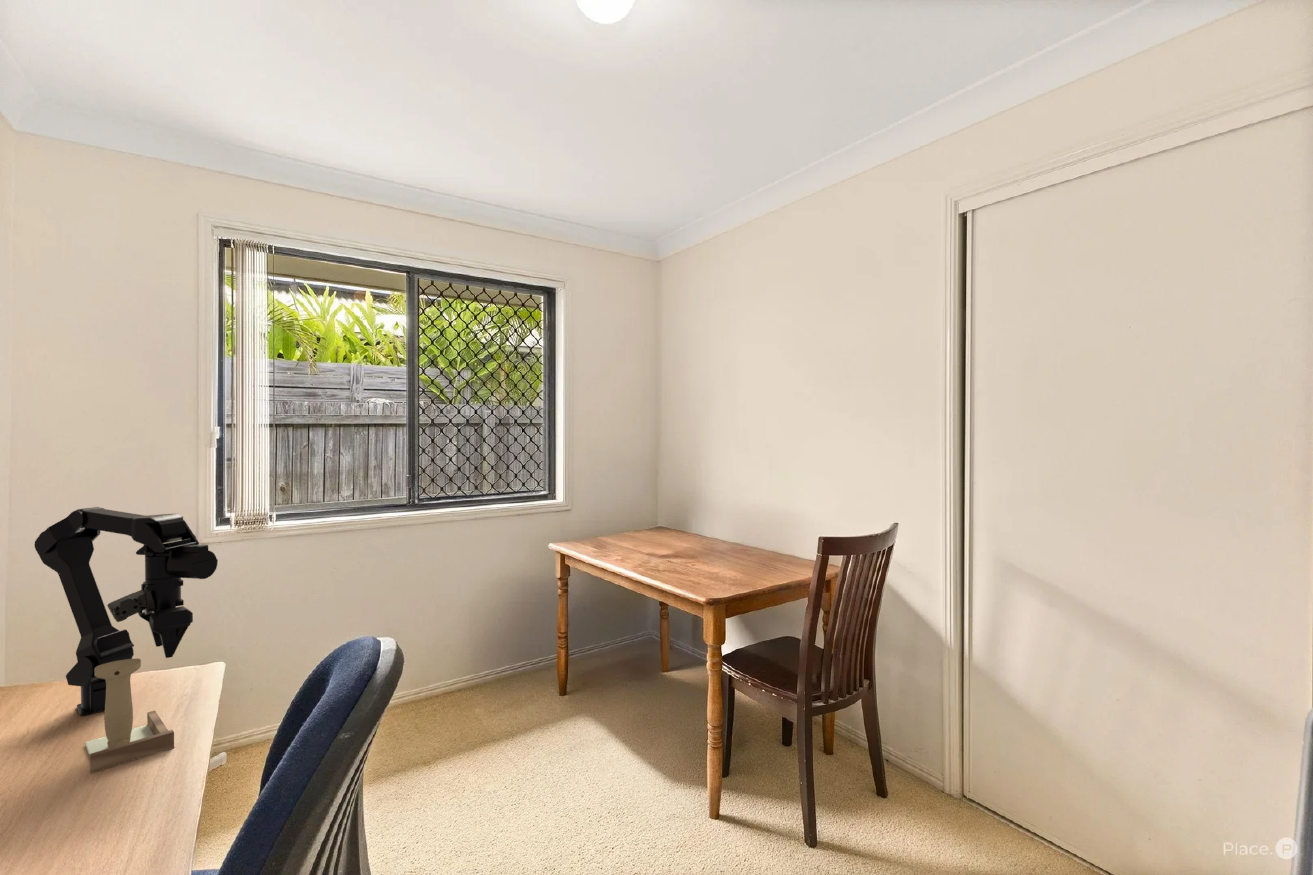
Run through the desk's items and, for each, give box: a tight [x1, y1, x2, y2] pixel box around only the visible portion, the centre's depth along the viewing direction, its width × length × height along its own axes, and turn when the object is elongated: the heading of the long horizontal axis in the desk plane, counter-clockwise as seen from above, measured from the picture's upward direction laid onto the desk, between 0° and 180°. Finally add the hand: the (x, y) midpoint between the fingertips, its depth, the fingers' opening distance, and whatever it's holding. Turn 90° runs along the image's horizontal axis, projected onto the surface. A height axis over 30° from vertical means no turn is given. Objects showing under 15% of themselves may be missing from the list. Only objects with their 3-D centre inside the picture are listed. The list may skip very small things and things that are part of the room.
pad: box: [84, 724, 153, 757], centre depth 114 cm, size 12×9×1 cm
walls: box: [89, 710, 175, 775], centre depth 114 cm, size 13×11×3 cm
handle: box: [94, 658, 142, 748], centre depth 113 cm, size 5×6×15 cm
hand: (164, 651), depth 126 cm, fingers open, 9 cm apart
